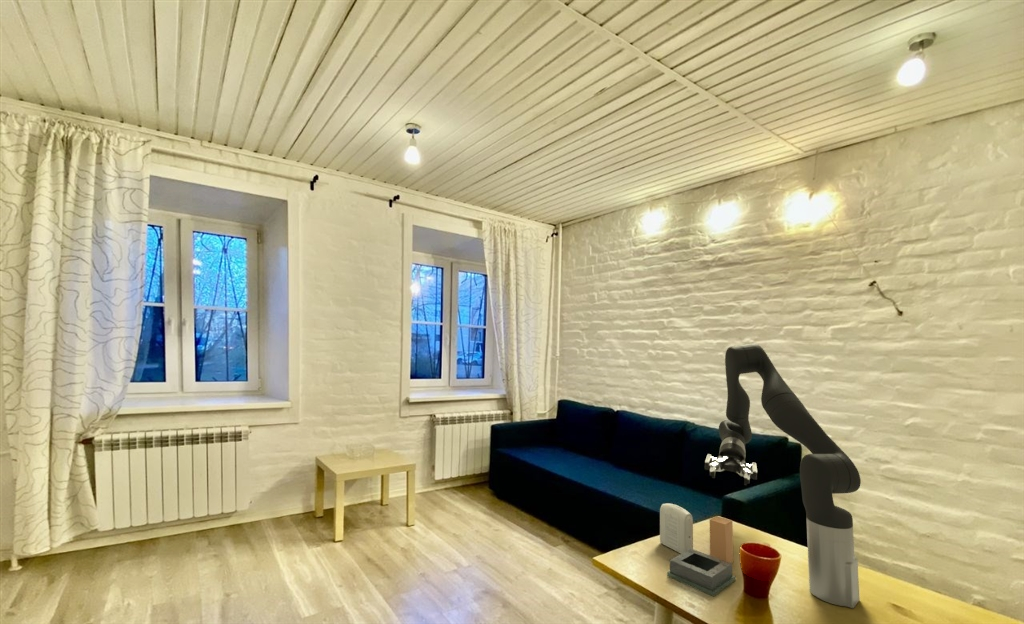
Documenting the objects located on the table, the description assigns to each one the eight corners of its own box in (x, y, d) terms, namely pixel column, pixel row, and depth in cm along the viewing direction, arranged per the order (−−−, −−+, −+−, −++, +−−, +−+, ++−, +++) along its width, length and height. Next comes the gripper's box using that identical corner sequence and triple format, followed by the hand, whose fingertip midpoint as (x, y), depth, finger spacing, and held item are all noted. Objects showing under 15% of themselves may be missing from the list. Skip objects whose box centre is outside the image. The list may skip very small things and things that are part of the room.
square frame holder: (735, 580, 111) (734, 563, 112) (713, 596, 104) (713, 578, 104) (690, 562, 121) (690, 547, 121) (667, 576, 113) (667, 559, 113)
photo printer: (695, 554, 126) (695, 509, 127) (685, 557, 124) (684, 512, 125) (667, 540, 135) (667, 499, 136) (657, 543, 133) (657, 501, 134)
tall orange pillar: (733, 561, 122) (732, 520, 123) (726, 566, 119) (725, 524, 120) (717, 555, 125) (716, 515, 126) (710, 560, 122) (709, 519, 123)
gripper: (708, 438, 145) (703, 461, 131) (757, 446, 138) (757, 472, 124) (708, 459, 146) (702, 484, 132) (756, 468, 139) (756, 496, 125)
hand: (729, 478), depth 128 cm, fingers open, 8 cm apart
